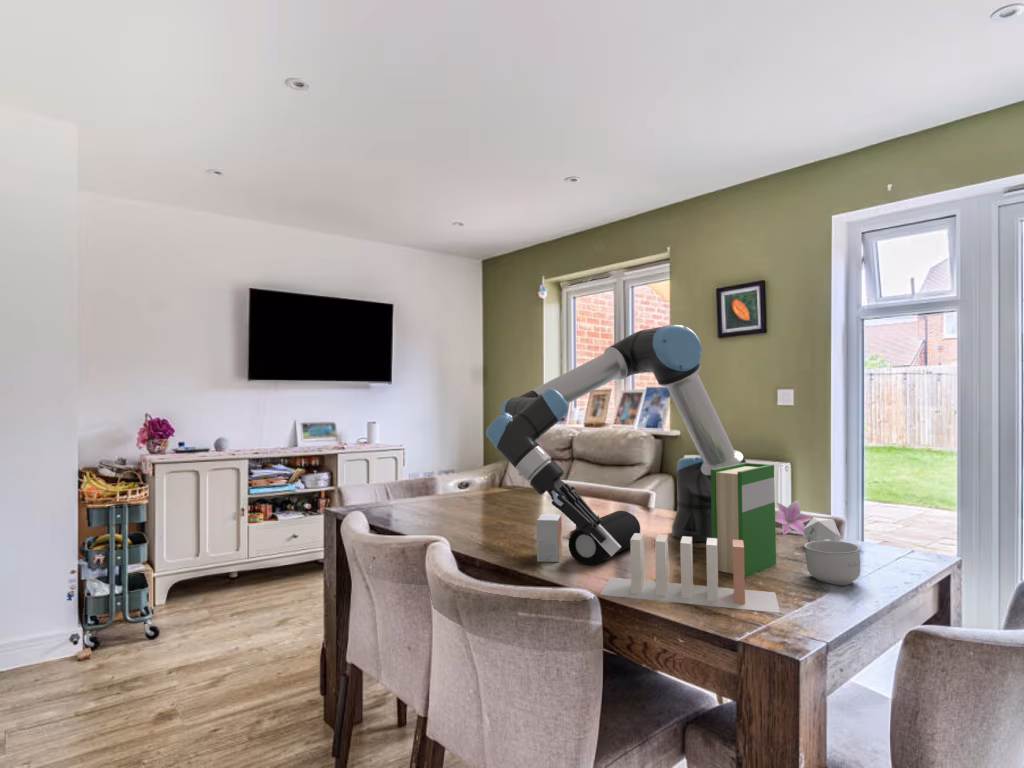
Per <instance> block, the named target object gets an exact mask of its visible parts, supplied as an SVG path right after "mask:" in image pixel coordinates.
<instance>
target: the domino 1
mask: <svg viewBox="0 0 1024 768" xmlns="http://www.w3.org/2000/svg"><path fill="white" fill-rule="evenodd" d="M630 544H631V546H630V579H631V593H639V594H641V593H642V590H643V588H644V585H645V581H646V580H645V579H646V577H645V576H646V575H645V574H646V573H645V533H641V532H640V533H634V535H633V536H632V538H631V539H630Z"/></svg>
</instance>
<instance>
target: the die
mask: <svg viewBox="0 0 1024 768" xmlns="http://www.w3.org/2000/svg"><path fill="white" fill-rule="evenodd" d="M804 526H805V528H804V529H803V531H804V534H805V535H804V536H805V538H806V541H807V543H808V542H812V541H822V540H825V539H830V540H831V541H841V539H842V536H841V533H840V530H839V529H838V527H837V524H836V522H835V520H834V519H832V518H822V517H814V516H813V517H812V518H811V519H810V520H809V521H808V523H807V524H806V525H804Z"/></svg>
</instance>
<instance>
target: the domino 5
mask: <svg viewBox="0 0 1024 768" xmlns="http://www.w3.org/2000/svg"><path fill="white" fill-rule="evenodd" d="M732 576H733V589H734V603H740V604H745V590H746V583H745V578H746V577H745V573H744V544H743V540H733V574H732Z"/></svg>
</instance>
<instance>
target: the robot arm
mask: <svg viewBox="0 0 1024 768" xmlns="http://www.w3.org/2000/svg"><path fill="white" fill-rule="evenodd" d="M701 352H702V343H701V341H700V338H699V336H698V335H697V334H696V333H695V332H694V331H693V330H692V329H691V328H689V327H687V326H685V325H680V324H667V325H663V326H659V327H658V326H657V327H653V328H648V329H643V330H642V329H641V330H639V331H636V332H634V333H632V334H630V335H628V336H627V337H624V338H623V339H621V340H619V341H617V342H616V343H614V344H612V345H610V346H608V347H607V348H605V349H604V351H603V353H602V354H600V355H598V356H596V357H594V358H593V359H590V360H589V361H587V362H585V363H582V364H581V365H578V366H577V367H575V368H572V369H571V370H568V371H566V372H565V373H563V374H561V375H558V376H557V377H555V378H553V379H551V380H549V381H547V382H544V383H543V384H541V385H540V386H537V387H534V388H533V389H531V390H530V391H527V392H524V393H523V394H521V395H518V396H512V397H510V398H507V399H506V400H505V401H504V402H503V403H502V405H501V407H500V415H498V416H497V417H496V418H494V420H492V421H491V422H490V424H489V425H488V426H487V428H486V431H485V436H486V437H487V439H488V440H489V441H490V442H491V443H492V445H493V446H494V447H495V449H496V450H498V452H499V453H501V455H503V457H504V458H506V460H507V461H508V462H509V463H510V464H511V465H512V466H513V467H514V468H515V469H516V471H518V476H520V477H521V476H522V477H523V478H524V479H525V480H526V481H528V482H529V481H530V482H529V483H530V486H531V487H532V488H533V489H534V490H535V491H536V492H537V494H538V495H543V494H544V493H546V492H547V494H548V495H549V496H550V497H551V500H552V501H551V504H552V506H554V507H555V508H557V509H558V510H559V511H560V512H562V514H564V515H565V517H567V518H568V519H569V520H570V521H571V522H572V523H573V524H574V525H575V526H576V525H577V526H578V527H579V528H580V529H581V530H582V531H583V532H584V533H585V535H586V536H587V535H588V534H589V533H590V534H591V535H592V536H593V537H594V539H595V540H596V541H597V542H598V543H599V544H600V545H601V546H602V547H603V548H604V549H605V550H606V551H607V552H608V554H609V555H610V556H611V557H613V556H614V555H616V554H617V553H616V552H617V551H618V550H619V549H620V548H621V546H620V545H619V544H618V543H617V541H616V540H615V539H614V538H613V537H612V536H611V535H610V534H609V533H608V532H607V531H606V530H605V529H604V528H603V527H602V526H601V525H600V523H601V522H602V520H601V519H600V520H599V518H600V517H599V518H598V517H597V516H596V514H595V513H594V512H593V511H594V510H593V509H592V508H591V507H590V506H589V505H588V504H587V502H586V501H585V500H584V498H583V497H582V496H581V495H580V494H579V493H578V491H577V489H576V488H575V487H574V486H570V485H569V483H566V482H564V481H563V480H561V478H562V476H563V475H564V473H565V471H564V470H563V469H562V467H561V466H560V465H559V464H558V463H556V461H554V460H552V457H551V456H550V455H549V453H548V452H547V451H545V449H544V448H543V447H542V446H541V445H540V444H539V443H538V442H537V440H538V439H540V438H541V437H542V436H543V435H544V434H545V433H547V432H548V431H549V430H551V428H553V427H554V426H555V425H556V424H557V423H558V422H561V420H562V419H563V418H564V417H565V415H567V414H568V412H569V404H571V403H572V402H575V401H576V400H578V399H580V398H582V397H583V396H586V395H587V394H589V393H591V392H593V391H595V390H597V389H599V388H601V387H602V386H604V385H607V384H609V383H611V382H612V381H614V380H616V379H617V380H620V381H621V380H624V379H626V378H628V377H630V376H633V375H638V374H644V373H645V374H646V373H653V375H654V378H655V379H656V381H657V384H658V385H659V386H662V387H665V388H666V389H667V390H668V392H669V394H670V397H671V399H672V401H673V403H674V405H675V408H677V411H678V413H679V415H680V417H681V419H682V422H683V424H684V425H685V427H686V430H687V432H688V433H689V436H690V438H691V440H692V442H693V444H694V447H695V448H696V451H697V452H698V454H699V456H695V457H683V458H679V459H678V460H677V462H676V472H675V473H676V487H677V488H676V489H677V490H676V493H677V497H676V498H677V510H676V513H675V515H674V520H673V522H672V526H671V535H672V536H673V537H675V538H677V539H679V540H681V539H682V536H687V537H692V542H704V543H705V542H706V543H707V538H712V518H711V469H715V468H720V467H725V466H730V465H735V464H740V463H747V461H746V459H745V456H744V455H743V453H742V452H741V451H739V450H736V449H734V447H733V445H732V443H731V440H730V439H729V437H728V434H727V432H726V430H725V428H724V427H723V424H722V422H721V419H720V418H719V416H718V414H717V411H716V409H715V407H714V405H713V402H712V401H711V399H710V396H709V395H708V392H707V390H706V387H705V386H704V384H703V381H702V380H701V378H700V376H699V375H700V374H699V373H700V371H701V367H702V366H701V363H700V361H701V357H702V354H701ZM592 510H593V511H592ZM615 553H616V554H615ZM612 555H613V556H612Z"/></svg>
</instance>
